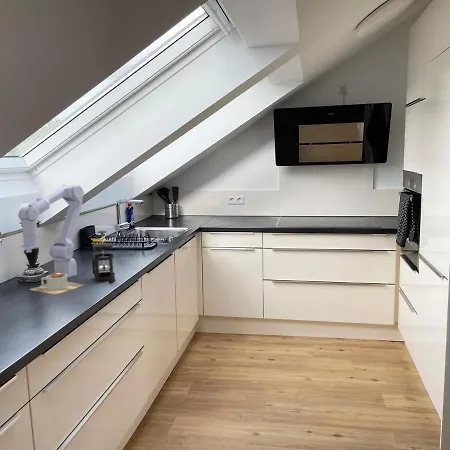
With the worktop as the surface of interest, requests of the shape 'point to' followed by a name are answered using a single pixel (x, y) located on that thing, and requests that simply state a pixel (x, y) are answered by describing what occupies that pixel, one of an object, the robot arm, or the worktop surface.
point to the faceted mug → (55, 282)
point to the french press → (96, 268)
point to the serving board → (54, 292)
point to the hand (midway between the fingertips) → (32, 265)
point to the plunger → (56, 275)
